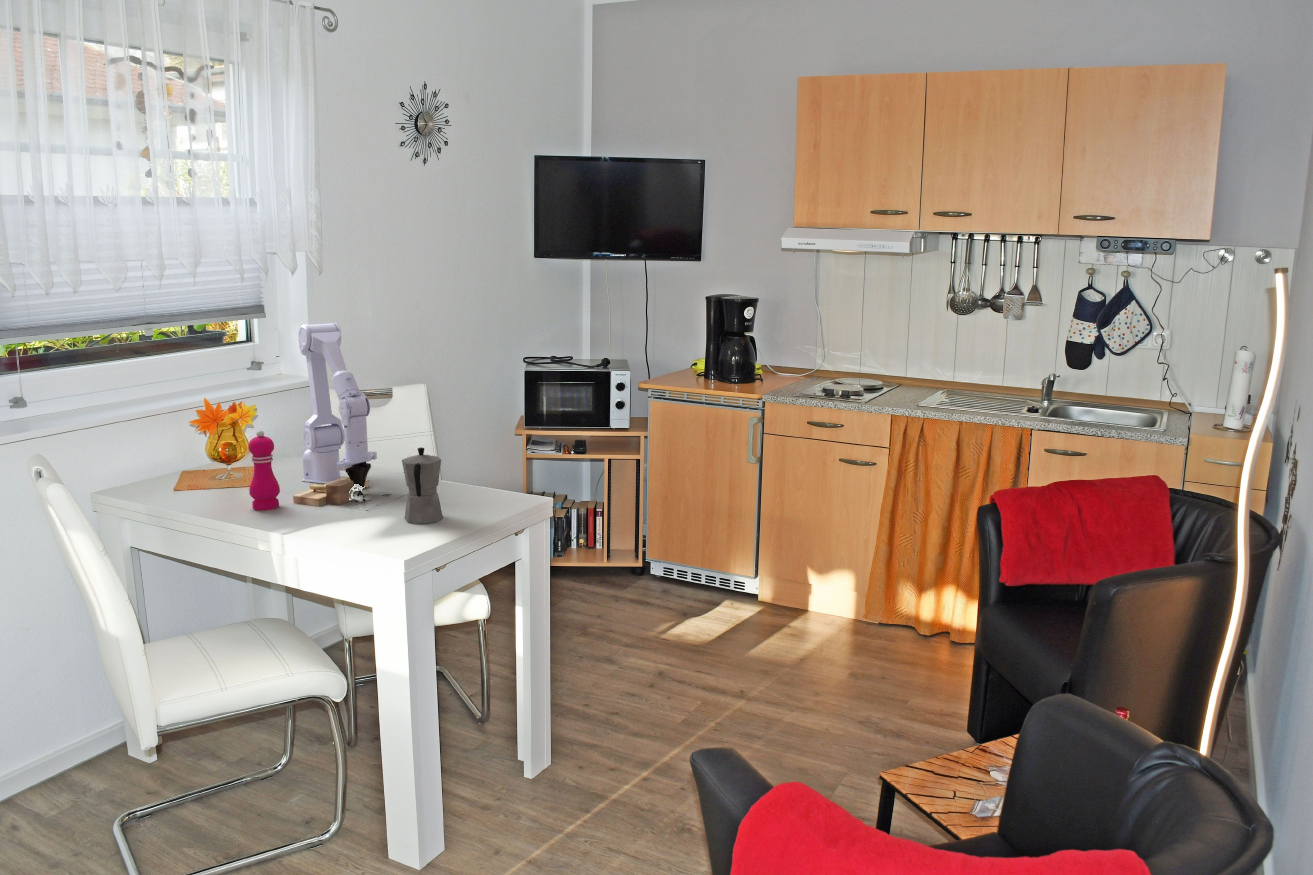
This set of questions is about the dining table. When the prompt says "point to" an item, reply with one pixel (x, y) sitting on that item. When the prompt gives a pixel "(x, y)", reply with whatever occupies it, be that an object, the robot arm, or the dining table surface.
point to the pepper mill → (263, 474)
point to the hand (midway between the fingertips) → (358, 490)
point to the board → (316, 495)
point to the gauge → (336, 491)
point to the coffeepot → (422, 488)
